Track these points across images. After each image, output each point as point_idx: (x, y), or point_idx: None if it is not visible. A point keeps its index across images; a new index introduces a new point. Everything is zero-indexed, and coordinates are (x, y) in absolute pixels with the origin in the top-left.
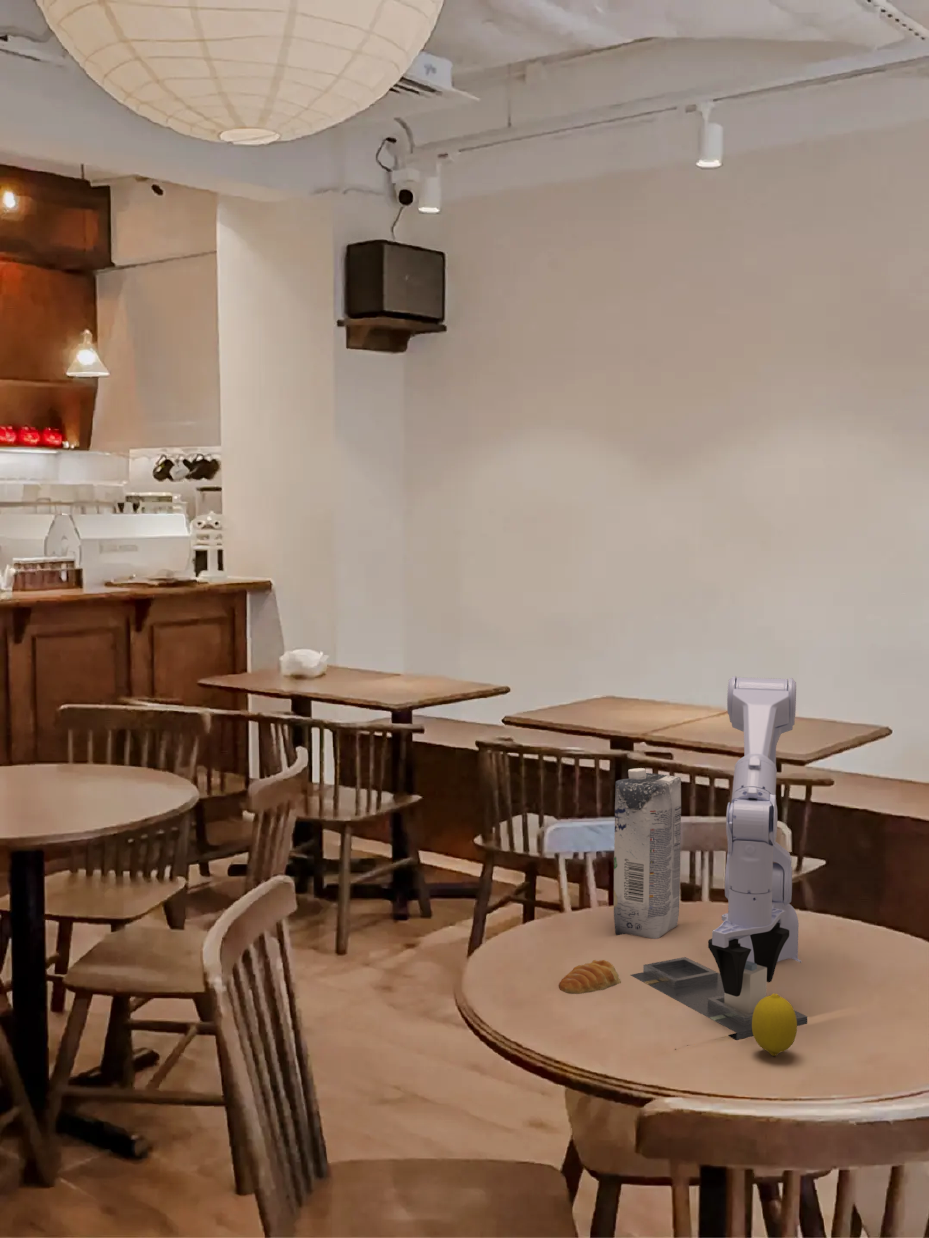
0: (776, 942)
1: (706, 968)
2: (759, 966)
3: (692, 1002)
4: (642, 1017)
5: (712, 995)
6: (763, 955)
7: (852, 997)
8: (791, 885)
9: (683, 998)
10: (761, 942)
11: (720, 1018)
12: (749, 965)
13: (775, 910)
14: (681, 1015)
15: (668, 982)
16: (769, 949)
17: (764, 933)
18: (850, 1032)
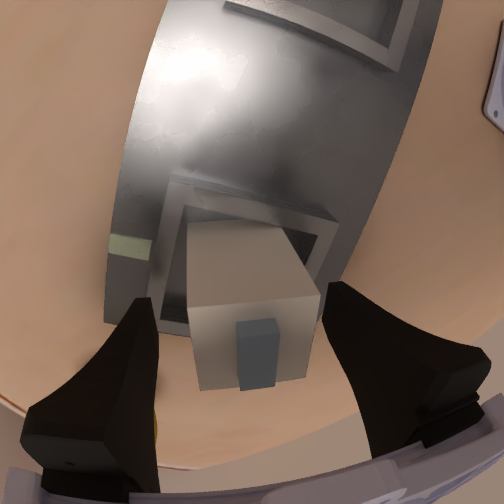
0: (372, 437)
1: (404, 29)
2: (298, 363)
3: (165, 117)
4: (20, 76)
5: (268, 122)
6: (363, 356)
7: (450, 302)
8: None
9: (173, 74)
10: (387, 387)
11: (127, 256)
12: (239, 382)
13: (496, 459)
14: (106, 126)
15: None
16: (367, 396)
17: (400, 427)
18: (308, 384)
